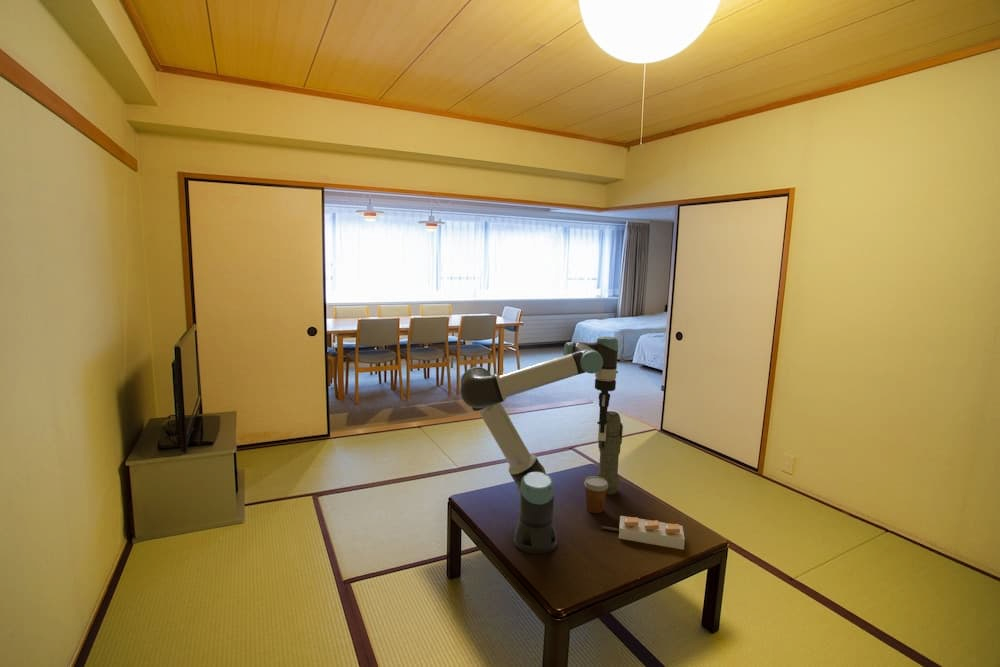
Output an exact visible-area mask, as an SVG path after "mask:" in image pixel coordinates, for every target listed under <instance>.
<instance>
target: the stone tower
mask: <svg viewBox="0 0 1000 667" xmlns="http://www.w3.org/2000/svg"><path fill="white" fill-rule="evenodd" d="M607 421H609V422H608V423H607V426H606V441H599V440H598V441H597V442H598V444H597V445H598V450H599V467H598V473H597V477H601V478H603V479H605V480H606V481H607V483H608V488H607V491H606V495H607V494H608V496H609V495H610V496H612V495H616V494H617V493H618V487H619V479H620V477H619V474H618V473H619V460H620V459H619V457H620V454H621V445H622V443H623V432H624V430H623V429H624V425H623V423H622V422H621V421H622V419H621V417H620V413H618V412H616V411H611V410H610V411H609V410H607Z"/></svg>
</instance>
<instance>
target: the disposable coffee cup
mask: <svg viewBox="0 0 1000 667" xmlns="http://www.w3.org/2000/svg"><path fill="white" fill-rule="evenodd" d="M583 485H584V487H585V489H584V490H585V499H586V500H585V502H586V510H587V512H590V513H592V514H593V513H594V514H600V513H602V512H603V511H604V505H605V500H606V496H607V494H606V491H607V488H608V483H607V481H606V480H605V479H603V478H601V477H598V476H593V475H591V476H588V477H586V478H585V481H584V482H583Z"/></svg>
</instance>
